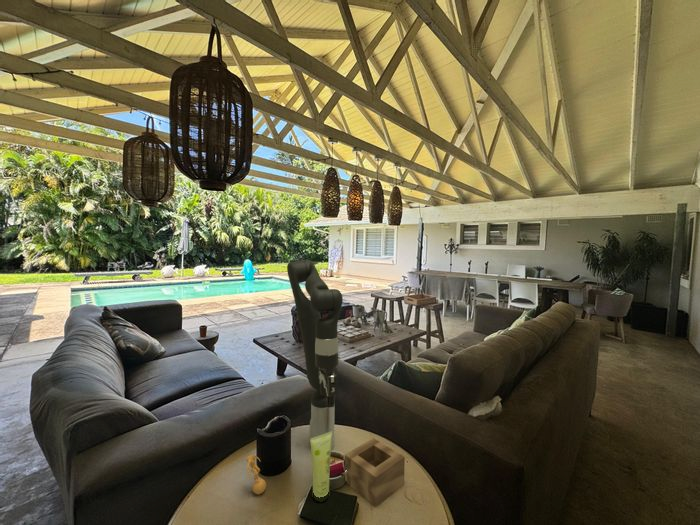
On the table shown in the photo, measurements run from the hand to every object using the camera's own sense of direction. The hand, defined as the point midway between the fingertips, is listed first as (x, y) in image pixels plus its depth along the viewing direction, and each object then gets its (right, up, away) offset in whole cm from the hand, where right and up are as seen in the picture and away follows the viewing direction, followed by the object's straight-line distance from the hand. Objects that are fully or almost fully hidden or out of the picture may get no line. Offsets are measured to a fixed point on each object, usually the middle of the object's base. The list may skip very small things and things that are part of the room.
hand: (327, 400), depth 96 cm
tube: (-2, -28, -4) cm, 29 cm away
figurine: (-22, -28, -3) cm, 36 cm away
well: (+15, -28, +2) cm, 32 cm away
